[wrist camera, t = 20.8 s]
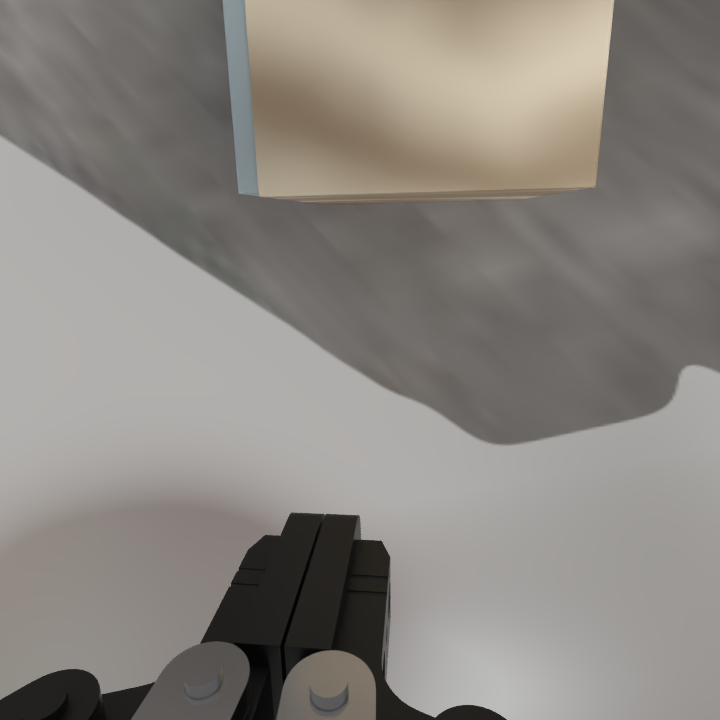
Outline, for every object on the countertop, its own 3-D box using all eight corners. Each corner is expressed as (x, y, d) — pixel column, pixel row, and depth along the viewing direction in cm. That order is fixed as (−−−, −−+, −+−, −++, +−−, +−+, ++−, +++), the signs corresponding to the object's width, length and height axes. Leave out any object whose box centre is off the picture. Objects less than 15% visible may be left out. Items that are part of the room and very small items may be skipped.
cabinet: (306, -108, 30) (218, -364, 17) (546, -132, 29) (657, -434, 15) (319, 204, 35) (259, 196, 22) (525, 198, 34) (595, 187, 20)
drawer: (263, -113, 29) (170, -311, 18) (520, -138, 28) (588, -373, 17) (282, 201, 34) (217, 194, 23) (503, 195, 33) (546, 184, 22)
